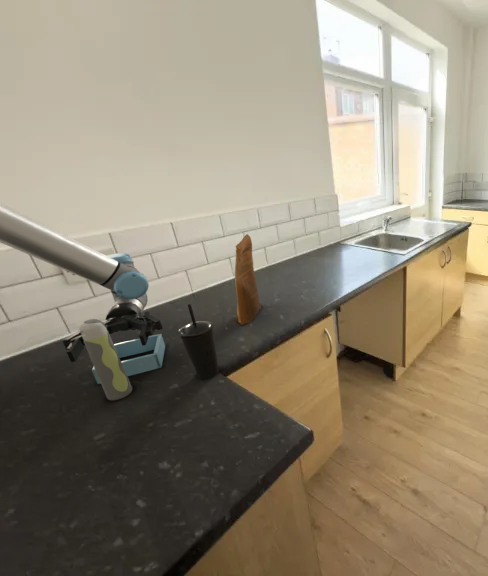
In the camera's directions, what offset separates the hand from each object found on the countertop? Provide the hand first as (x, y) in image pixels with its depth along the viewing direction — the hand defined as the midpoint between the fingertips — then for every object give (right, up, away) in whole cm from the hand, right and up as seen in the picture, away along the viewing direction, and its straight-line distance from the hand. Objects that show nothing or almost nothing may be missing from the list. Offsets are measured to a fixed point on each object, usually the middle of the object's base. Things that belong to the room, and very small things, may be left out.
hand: (108, 348), depth 76 cm
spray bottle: (+2, -11, +1) cm, 12 cm away
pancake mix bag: (+18, +5, +39) cm, 44 cm away
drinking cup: (+20, -8, +8) cm, 23 cm away
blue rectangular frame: (-3, -7, +13) cm, 15 cm away
